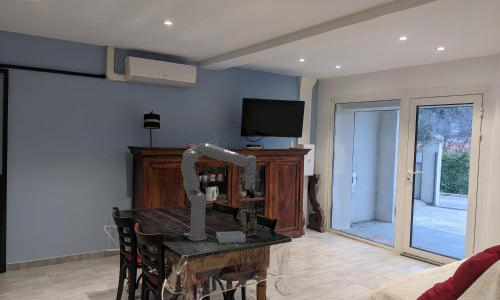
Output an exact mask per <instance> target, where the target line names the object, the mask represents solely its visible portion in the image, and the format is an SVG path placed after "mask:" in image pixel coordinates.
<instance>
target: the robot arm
mask: <svg viewBox="0 0 500 300" xmlns="http://www.w3.org/2000/svg"><path fill="white" fill-rule="evenodd" d="M202 156H205V157H209V158H213V159H215V160H218V161H221V162H225V163H231V164H234V165H235V166H238V167H244V171H245V181H244V183H245V185H244V188H245V189H246V193H245V194H246V197H249V199H255V191H256V190H255V188H256V176H257V157H256V155H244V154H240V153H238V152H235V151H231V150H229V149H226V148H224V147H220V146H218V145H215V144H212V143H210V142H202V143H198V144H197V145H195V146H192V147H190V148H188V149H186V150H185V151H183V153H182V161H181V164H180V170H181V174H182V178H183V183H182V185H183V188H184V190H185V194H186V195H187V198H188V200H189V202H190V203H191V207H190V230H189V231H188V232H183V236H185V237H187V239H188V240H190V241H194V242H195V241H196V242H197V241H198V242H199V241H200V242H201V241H205V240H207V238H208V236H207V235H205V232H206V206H207V197H206V194H204V193H203V192H202V191H201V190H200V187H201V186H200V184H201V183H200V180H199V178H198V175H197V172H196V170H195V163H197V161H198V159H199V158H202Z"/></svg>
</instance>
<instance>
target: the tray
mask: <svg viewBox="0 0 500 300" xmlns="http://www.w3.org/2000/svg"><path fill="white" fill-rule="evenodd" d="M241 231H242V230H241ZM241 231H240V230H239V231H238V230H236V231H216V232H215V239H216V240H217V242H218V243H219V245H221V244H223V245H224V244H236V243H237V244H241V243H246V237H247V236H245V235H244V234H243V233H242V232H241Z"/></svg>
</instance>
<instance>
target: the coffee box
mask: <svg viewBox="0 0 500 300" xmlns="http://www.w3.org/2000/svg"><path fill="white" fill-rule="evenodd" d="M257 224H258V212H257V211H252V210H251V211H242V212H241V232H242V233H243V234H244V235H245V236H246V237H250V236H256V235H257V226H258V225H257Z"/></svg>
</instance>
